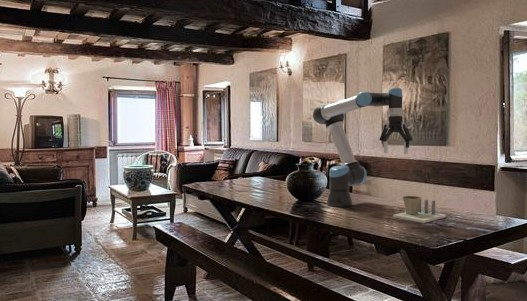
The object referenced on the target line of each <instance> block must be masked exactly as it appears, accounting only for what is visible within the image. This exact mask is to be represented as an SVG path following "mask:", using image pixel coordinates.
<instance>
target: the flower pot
mask: <svg viewBox="0 0 527 301" xmlns="http://www.w3.org/2000/svg"><path fill="white" fill-rule="evenodd" d="M401 199H402V201H403V204H404V206H403V207H404V212H406V214H410V215H416V214H418V210H419V203H420V199H421V200H422V197H421V196H418V195H405V196H404V195H403V196H402V197H401Z"/></svg>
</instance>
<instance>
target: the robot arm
mask: <svg viewBox="0 0 527 301" xmlns="http://www.w3.org/2000/svg"><path fill="white" fill-rule="evenodd" d="M403 98H404V97H403V89H402V88H400V87H399V88H398V87H396V88H395V87H394V88H389V89H388V92H369V91H361V92H359V93H358V94H357V95H354V96H352V97H349V98H345V99H343V100H339V101H337V102H336V101H335V102H334V103H331V104H323V105H320V106H317V107H315V108H314V110H313V112H312V118H313V120H314V121H315V122H316V124H319V125H325V127H326V130H328V131H329V132H330V135H331V137H332V140H333V143H334V145H335V148H336V151H337V153H338V157H339V159H340V162H341V164H342V165H334V166H332V167H330V169H329V173H328V174H329V175H328V177H329V193H328V196H327V197H328V198H327V200H326V205H327V206H329V207H334V208H335V207H337V208H342V207H343V208H346V207H351V206H353V200H352V198H351V193H350V187H353V186H359V185H361V184H364V183H365V181H366V179H367V178H368V177H367V174H368V173H367V170H366V168H365V167H364V166H361V164H360V162H359V161H358V160H356V158H355V156H354V153H353V150H352V148H351V145H350V141H349V140H348V137H347V134H346V131H345V129H344V124H345V122H344V121H345V114H346V113H349V112H352V111H355V110H358V109H361V108H365V107H386V106H388V124H384V126H383V130H382V132H381V134H380V137H379V141H381V142H382V148H383V154H387V153H388V139H389V137H390V136H391V135H392V134H393V133H398V134H399V135H400V136H401V138H402V139H403V140H404V141H403V154H404V155H407V154H409V148H410V142H412V141H413V137H412V135H411V132H410V130H409V128H408V123H404V124H403V115H404V114H403V113H404V112H403Z"/></svg>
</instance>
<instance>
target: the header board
mask: <svg viewBox="0 0 527 301" xmlns="http://www.w3.org/2000/svg"><path fill="white" fill-rule="evenodd" d="M446 217H447V215H446V214H442V213H437V212H436V200H431V211H430V212H429V199H424V211H423V210H422V198H421V199H420V203H419V210H418V214H416V215H410V214H406V212H405V211H404V212H399V213H396V214H392V218H394V219H395V218H396V219H401V220H406V221H412V222H418V223H423V224H425V223H429V222H433V221H437V220H441V219H444V218H445V219H446Z"/></svg>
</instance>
